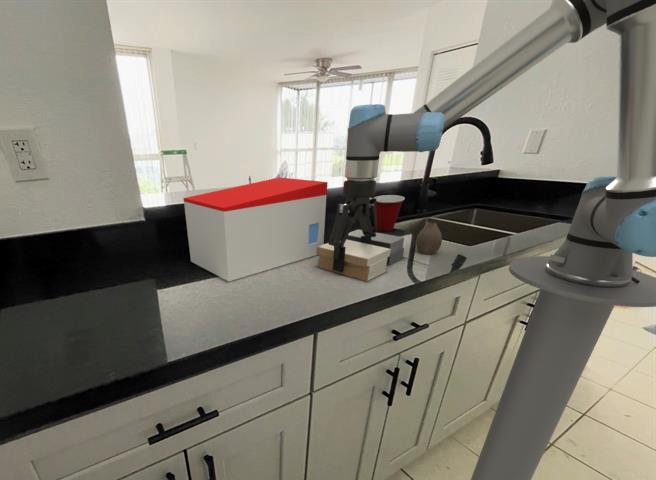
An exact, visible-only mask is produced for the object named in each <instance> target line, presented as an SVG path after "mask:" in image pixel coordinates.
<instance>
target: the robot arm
mask: <svg viewBox="0 0 656 480" xmlns="http://www.w3.org/2000/svg"><path fill="white" fill-rule="evenodd" d="M605 25H606V30H608V31H610V32H613V33H615V34H617V35H618V38H619V39H618V93H617V94H618V95H617V96H618V100H617V101H618V102H617V103H618V104H617V164H616V165H617V166H616V167H617V168H616V170H617V171H616V176H598V177H593V178H591V179H589V180H588V181H587V183H586V185H585V187H584V189H583V190H582V192H581V195H580V196H581V197H580V199H579V202H578V205H577V207H576V210H575V213H574V216H573V218H572V221H571V224H570V226H569V229H568V232H567V234H566V238H565V240H564V241H563V242H562V244H561V245H560V246H559V248H558V249H557V250H556V251H555V252H554V254H550V255H549V256H550V258H549V261H548V262H547V264H546V267H545V271H546V272H547V273H548V274H550V275H552V276H554V277H556V278H559V279H562V280H565V281H568V282H572V283H576V284H581V285H587V286H593V287H602V288H620V287H625V286H628V285H629V283H630V281H631V280H632V281H633V282H635V283H639V282H640V281H639V280H638V279H636V278H634V277H633V276H632V275H633V270H634V268H633V267H634V266H633V263H634V261H633V254H635V255H637V256H641V257H648V258H656V0H551V2H550V5H549V7H548V9H546V10H545V11H544V12H543V13H542V14H540V15H539V16H537V17H536V18H535V19H533V20H532V21H531V22H529V24H527V25H525V27H523V28H522V29H521V30H519V31H518V32H517V33H516V34H514V35H513V36H511V37H510V38H509V39H508V40H506V41H505V42H504V43H502V44H501V45H500V46H499V47H497V48H496V49H494V50H493V51H492V52H490V54H488V55H486V56H485V58H482V59H481V60H480V61H479V62H478V63H477V64H475V65H474V66H472V67H471V68H470V69H469V70H467V71H466V72H465V73H463V74H462V75H461V76H459V78H457V79H456V80H454V81H453V82H452V83H450V84H449V85H447V87H445V88H444V89H443V90H441V91H440V92H439V93H437V94H435V96H434V97H433V98H431V99H430V100H428V101H427V102H426V103H425V104H423V105H422V106H420V107H419V108H418V109H416V110H415V111H413V112H411V113H398V114H397V113H396V114H392V113H391V114H389V113H387V111H386V106H385V105H384V104H382V103H381V104H380V103H379V104H378V103H377V104H370V103H369V104H361V105H355V106H353V107H352V109H350V114H349V122H348V127H347V139H346V153H345V165H344V178H346V179H344V180H343V187H342V195H343V196H344V197H345V198H346V200H345V203H344V204H343V203H338V204H337V206H336V214H335V218H334V222H333V224H332V228H331V233H330V235H329V239H328V242H327V243H328V244H329V245H332V246H334V255H333V258H334V260H333V270H335V271H338V272H343V269H344V258H345V248H346V247H343V246H344V244H345V241H346V239H347V237H348V234H349V233H350V232H351V230H352V227H353V225H354V224H355V223H356V222H357V220H358V222H359V225H360V228H361V229H360V230H362V232H363V235H365V236H361V243H365V244H370V245H371V238H372V237H375V236H376V233H378V230H377V217H376V201H377V199H376V198H375V197H374V196H375V195H376V189H377V180H376V178H377V177H378V174H379V173H378V172H379V164H380V163H379V161H380V154H381V152H383V153H387V152H397V153H398V152H399V153H400V152H401V153H402V152H403V153H404V152H405V153H406V152H407V153H408V152H409V153H410V152H413V153H415V152H418V153H424V152H434V151H436V150H438V149H439V147H440V145H441V140H442V136H443V132H444V131H443V130H445V129H447V128H448V127H449V126H451V125H452V124H453V123H455V122H457V120H459V119H460V118H462V117H463V116H465V115H466V114H468V113H469V112H470V111H472V110H473V109H475V108H476V107H478V106H479V105H480V104H482V103H484V102H485V101H486V100H487V99H489V98H491V97H492V96H494V94H496V93H498V92H499V91H500V90H502V89H503V88H505V87H506V86H508V85H510V84H511V83H513V82H514V81H515V80H516V79H518V78H519V77H520V76H522V75H523V74H525V73H526V72H528V71H529V70H530V69H532V68H533V67H534V66H536V65H538V64H539V63H541V62H542V61H543V60H545V59H546V58H547V57H549V56H551V55H552V54H553V53H555V52H557V50H559V49H561V48H562V47H563V46H564V45H566V44H575V43H578V42H579V41H581V40H582V39H584V38H585V37H586V36H588V35H589V34H591V33H593V32H594V31H596V30H597V29H599V28H602V26H605ZM340 241H341V242H340Z"/></svg>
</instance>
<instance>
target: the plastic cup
mask: <svg viewBox="0 0 656 480" xmlns="http://www.w3.org/2000/svg"><path fill="white" fill-rule="evenodd" d="M374 198H376V199H377V201H376V217H377V231H380V232H392V231H393V230H394V228H395V225H396V222H397V220H398V216H399V213H400V211H401V208H402V205H403V202H404V201H405V199H406V198H405V197H404V196H402V195H396V194H386V195H384V194H383V195H378V196H375V197H374Z"/></svg>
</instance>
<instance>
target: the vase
mask: <svg viewBox="0 0 656 480" xmlns="http://www.w3.org/2000/svg"><path fill="white" fill-rule="evenodd" d="M442 243H443V234H442V233H441V230H440V229H439V227H438V224H437V223H436V222H427V224H426V225H425V226H424V227H423V228H422V229H421V230H420V231H419V232H418V233H417V235H416V238H415V247H416V249H417V251H418V252H419V253H420V254H423V255H433V254H435V253H436V252H438V251H439V250H440V248H441V246H442Z"/></svg>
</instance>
